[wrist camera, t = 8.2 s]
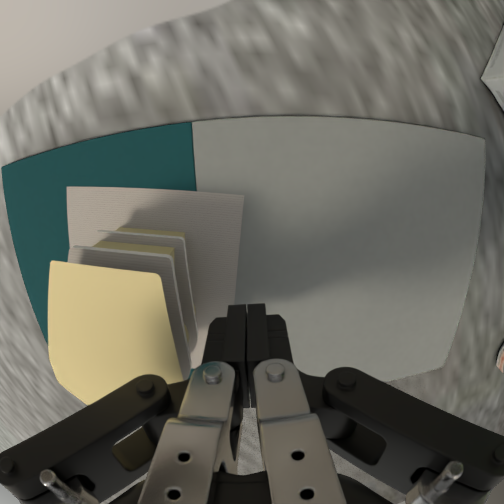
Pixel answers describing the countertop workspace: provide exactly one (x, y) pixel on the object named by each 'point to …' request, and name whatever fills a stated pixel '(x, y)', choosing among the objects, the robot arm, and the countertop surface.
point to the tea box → (496, 71)
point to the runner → (297, 225)
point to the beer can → (501, 359)
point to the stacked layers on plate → (139, 284)
